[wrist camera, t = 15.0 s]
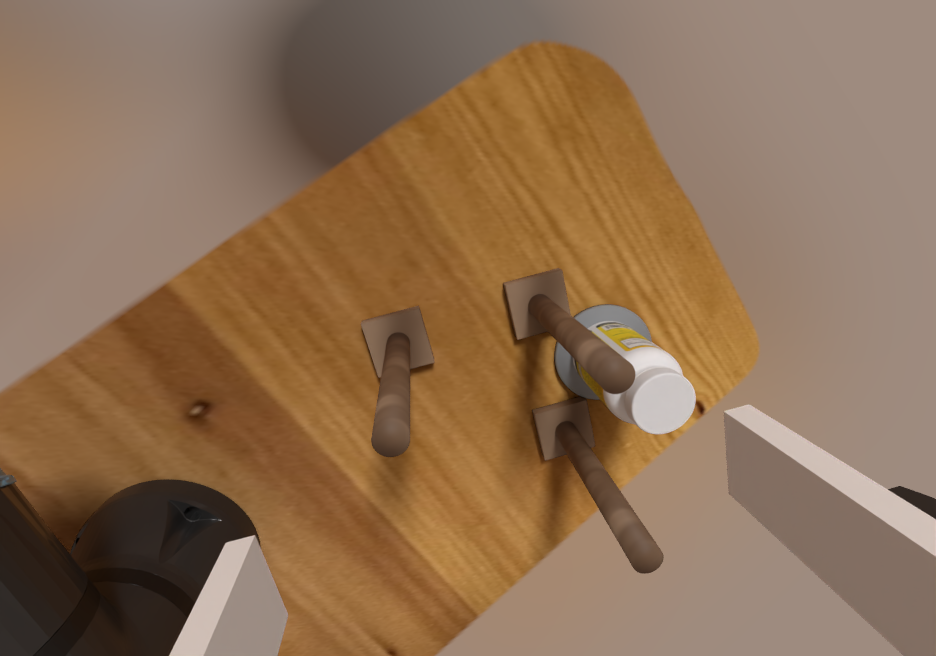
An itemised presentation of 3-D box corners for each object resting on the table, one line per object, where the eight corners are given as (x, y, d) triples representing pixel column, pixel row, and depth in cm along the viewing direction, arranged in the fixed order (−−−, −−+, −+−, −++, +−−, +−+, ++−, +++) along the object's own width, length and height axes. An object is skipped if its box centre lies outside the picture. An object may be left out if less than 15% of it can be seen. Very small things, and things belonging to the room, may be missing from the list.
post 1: (379, 373, 43) (358, 492, 26) (361, 320, 41) (329, 411, 25) (433, 358, 43) (448, 467, 26) (418, 305, 42) (424, 385, 25)
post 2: (542, 455, 47) (615, 602, 30) (532, 409, 46) (602, 538, 29) (591, 441, 47) (690, 579, 31) (582, 395, 46) (682, 515, 29)
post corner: (515, 336, 43) (580, 429, 27) (503, 282, 42) (564, 346, 25) (568, 321, 44) (667, 405, 27) (558, 268, 42) (656, 321, 25)
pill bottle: (590, 395, 45) (644, 460, 35) (558, 343, 43) (604, 395, 33) (648, 359, 45) (720, 414, 34) (618, 305, 43) (685, 346, 32)
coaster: (564, 407, 46) (565, 410, 45) (545, 319, 43) (547, 321, 43) (654, 382, 46) (657, 385, 46) (642, 293, 44) (645, 294, 43)
